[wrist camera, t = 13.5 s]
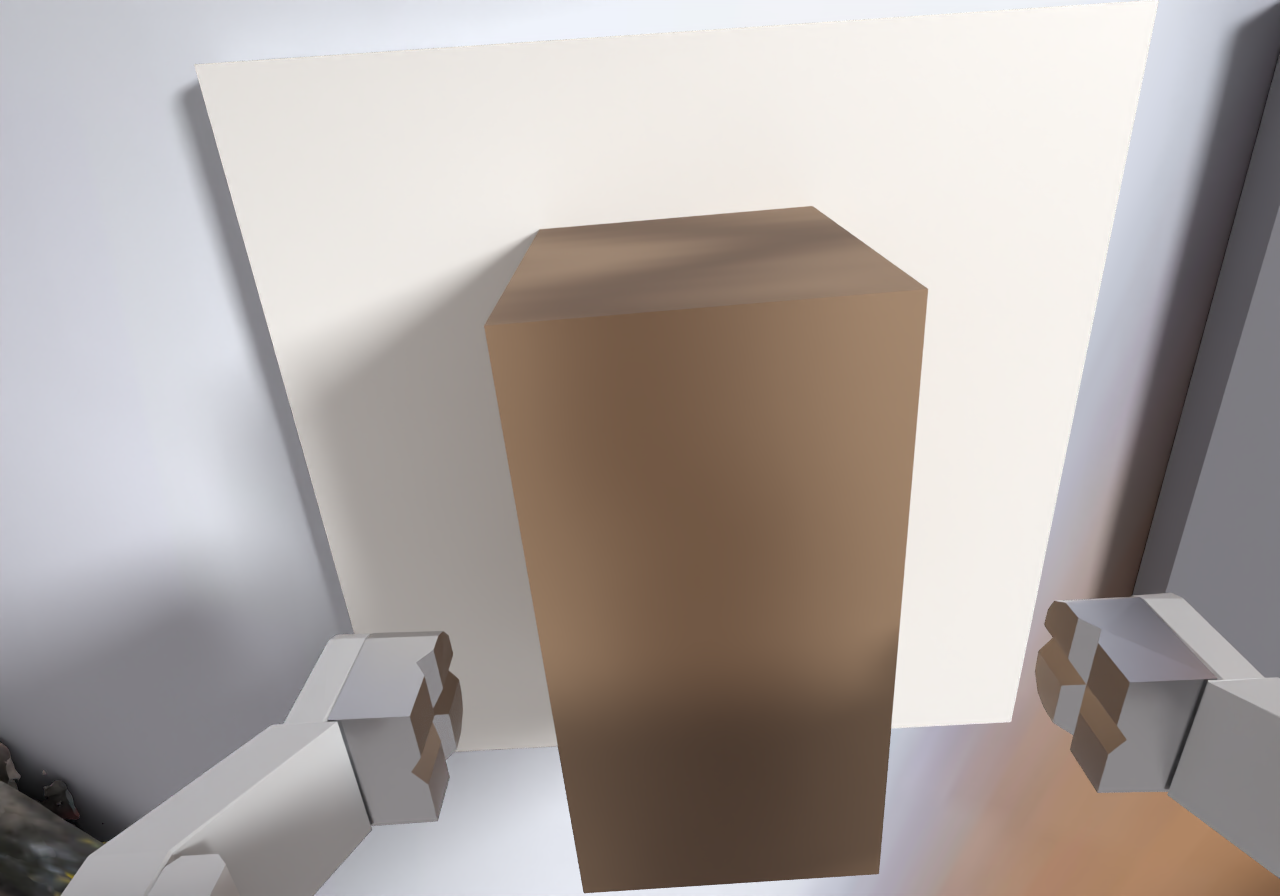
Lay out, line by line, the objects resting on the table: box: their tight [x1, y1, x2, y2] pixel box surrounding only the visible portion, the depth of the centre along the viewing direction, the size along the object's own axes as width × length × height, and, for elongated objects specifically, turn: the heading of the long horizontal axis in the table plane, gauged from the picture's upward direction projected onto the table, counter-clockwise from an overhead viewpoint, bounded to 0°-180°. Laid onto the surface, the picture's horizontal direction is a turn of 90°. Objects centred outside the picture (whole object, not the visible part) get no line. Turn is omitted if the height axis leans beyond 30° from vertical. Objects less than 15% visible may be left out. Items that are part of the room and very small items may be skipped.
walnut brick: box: [484, 206, 928, 893], centre depth 14 cm, size 5×10×6 cm, turn 4°
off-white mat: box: [194, 0, 1159, 752], centre depth 17 cm, size 16×16×1 cm
